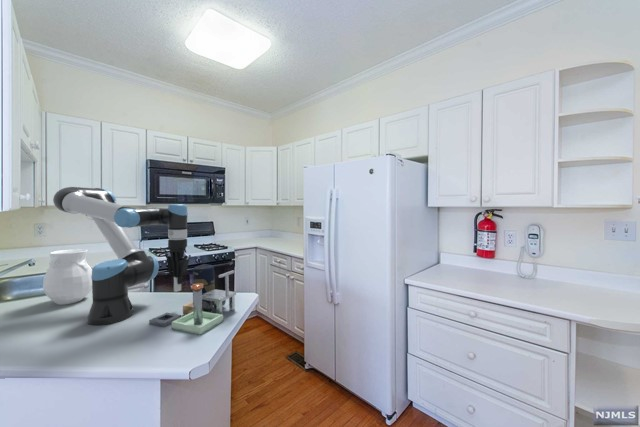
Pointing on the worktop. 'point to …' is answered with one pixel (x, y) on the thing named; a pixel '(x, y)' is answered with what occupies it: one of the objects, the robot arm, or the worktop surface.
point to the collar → (160, 319)
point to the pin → (197, 303)
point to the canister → (204, 277)
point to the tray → (188, 325)
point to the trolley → (219, 297)
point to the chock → (188, 308)
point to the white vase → (68, 276)
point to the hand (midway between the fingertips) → (177, 290)
